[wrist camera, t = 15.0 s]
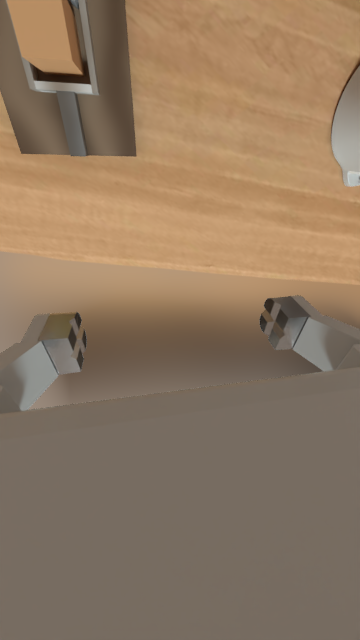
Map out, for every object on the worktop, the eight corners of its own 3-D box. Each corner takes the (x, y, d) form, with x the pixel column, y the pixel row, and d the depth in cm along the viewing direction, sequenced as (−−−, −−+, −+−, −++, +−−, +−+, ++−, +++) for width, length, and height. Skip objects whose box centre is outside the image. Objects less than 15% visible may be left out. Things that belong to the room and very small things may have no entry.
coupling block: (75, 17, 22) (57, -20, 17) (85, 76, 25) (72, 60, 19) (31, 13, 22) (-1, -27, 16) (46, 74, 24) (21, 56, 19)
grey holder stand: (117, -99, 20) (114, -135, 17) (136, 155, 31) (136, 157, 28) (-67, -133, 18) (-102, -180, 15) (25, 152, 29) (15, 154, 26)
